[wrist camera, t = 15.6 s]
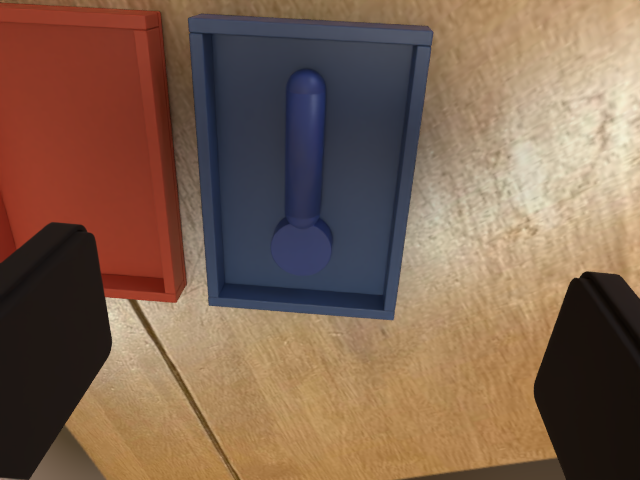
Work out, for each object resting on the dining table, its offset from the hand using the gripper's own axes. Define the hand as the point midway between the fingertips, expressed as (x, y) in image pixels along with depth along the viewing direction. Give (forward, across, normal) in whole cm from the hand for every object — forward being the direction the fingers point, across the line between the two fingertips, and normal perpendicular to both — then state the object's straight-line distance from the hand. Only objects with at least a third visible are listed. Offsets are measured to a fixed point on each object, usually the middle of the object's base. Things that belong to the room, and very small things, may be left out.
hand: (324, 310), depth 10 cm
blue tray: (+16, +2, +4) cm, 17 cm away
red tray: (+16, +14, +4) cm, 22 cm away
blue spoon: (+16, +2, +4) cm, 16 cm away
